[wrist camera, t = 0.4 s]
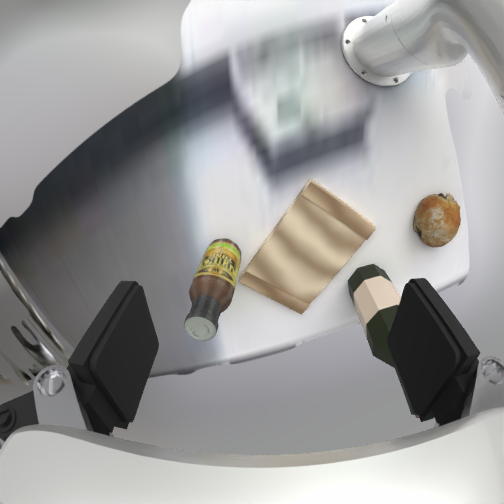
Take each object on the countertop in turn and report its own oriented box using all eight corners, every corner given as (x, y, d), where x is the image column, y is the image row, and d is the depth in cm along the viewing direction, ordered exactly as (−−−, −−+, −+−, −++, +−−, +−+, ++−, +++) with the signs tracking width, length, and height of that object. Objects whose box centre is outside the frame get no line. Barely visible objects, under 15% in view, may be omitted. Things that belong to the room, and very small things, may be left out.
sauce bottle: (244, 240, 48) (234, 317, 31) (237, 270, 51) (225, 352, 34) (208, 232, 48) (178, 305, 30) (203, 263, 51) (175, 342, 33)
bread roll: (402, 201, 47) (406, 227, 42) (445, 177, 40) (455, 202, 35) (424, 235, 50) (428, 263, 45) (464, 215, 43) (473, 242, 38)
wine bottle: (391, 283, 52) (455, 405, 25) (358, 305, 54) (403, 434, 28) (375, 255, 49) (449, 384, 22) (339, 280, 52) (386, 419, 25)
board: (310, 178, 43) (312, 180, 41) (372, 223, 46) (376, 228, 44) (239, 277, 52) (238, 283, 50) (299, 309, 55) (300, 315, 53)
